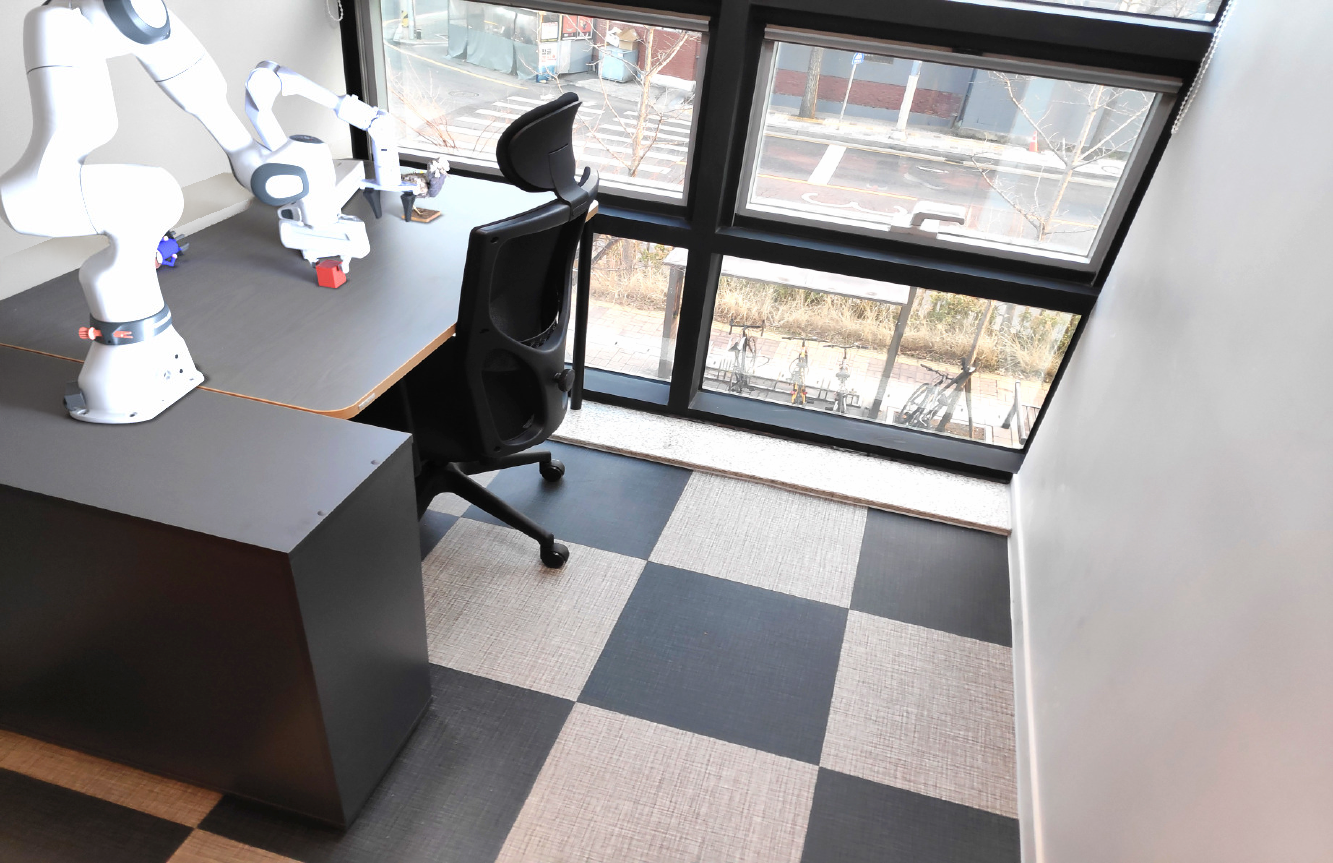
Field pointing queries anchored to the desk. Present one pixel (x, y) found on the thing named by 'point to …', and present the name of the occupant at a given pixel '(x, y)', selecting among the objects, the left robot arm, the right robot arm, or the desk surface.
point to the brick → (330, 274)
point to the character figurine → (169, 249)
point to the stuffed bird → (428, 187)
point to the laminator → (347, 178)
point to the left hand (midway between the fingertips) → (329, 269)
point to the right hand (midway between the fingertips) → (393, 219)
